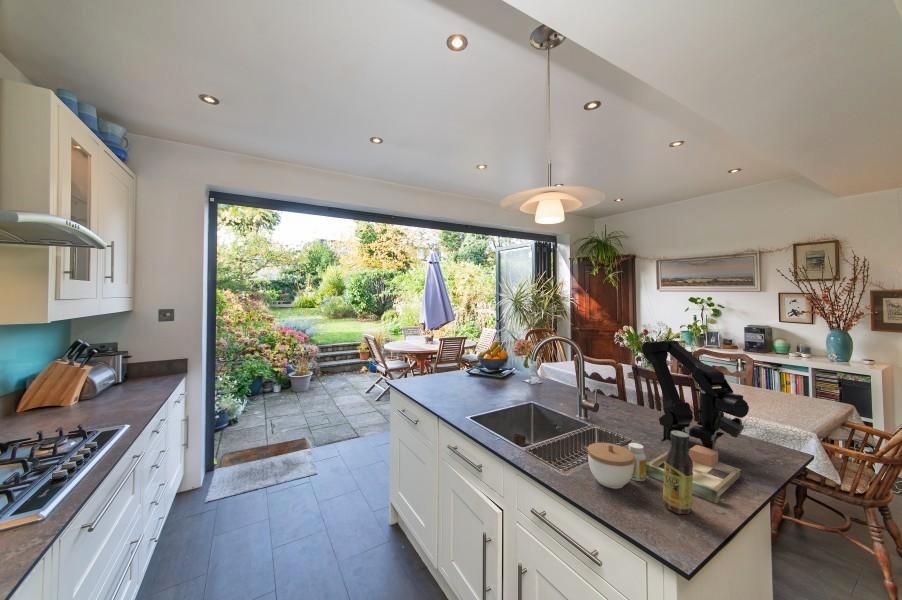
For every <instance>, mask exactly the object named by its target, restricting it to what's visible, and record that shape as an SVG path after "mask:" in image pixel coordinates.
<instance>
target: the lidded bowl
mask: <svg viewBox="0 0 902 600" xmlns="http://www.w3.org/2000/svg"><path fill="white" fill-rule="evenodd" d="M587 459H588V460H587V461H588V466H589V469H590V472H591V473H592V476H593V477H594V478H595V479H596V480H597V482H598V483H599V484H600V485H602V486H604V487H606V488H610V489H616V490H618V489H622V488H623V487H624V486H625V485H627V484H628V483H629V482H630V481H631V480H632V479H631V478H632V475H633V471H634V461H635V456H634V454H633V453H632V452H631V451H630V450H629V448H627V447H624V446H622V445H619V444H616V443H615V444H614V443H611V442H610V443H609V442H596V443H595V442H593V443H591V444H589V445H588V447H587Z"/></svg>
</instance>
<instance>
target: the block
mask: <svg viewBox="0 0 902 600" xmlns="http://www.w3.org/2000/svg"><path fill="white" fill-rule="evenodd" d="M688 452H689V456H690V458H691V459H692V461H694V462H697V463H700V464H703V465H706V466H709V467H712V466H714V465H715V464H716V463H718V462H719V451H718V450H716V449H714V450H712V449H709V448H706V447H704V446H703V445H698V444H695V445H694V446H693V447H690V448H688Z"/></svg>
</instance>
